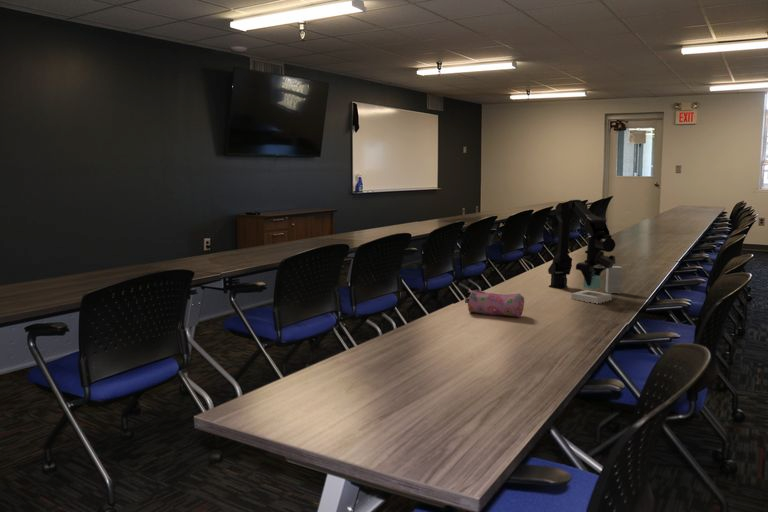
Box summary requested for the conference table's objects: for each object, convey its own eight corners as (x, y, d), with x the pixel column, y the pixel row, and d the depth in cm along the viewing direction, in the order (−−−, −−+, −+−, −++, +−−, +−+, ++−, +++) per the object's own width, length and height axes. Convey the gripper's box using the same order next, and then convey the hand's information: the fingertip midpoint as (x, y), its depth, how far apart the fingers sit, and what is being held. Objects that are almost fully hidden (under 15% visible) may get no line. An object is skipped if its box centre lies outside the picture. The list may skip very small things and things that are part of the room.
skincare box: (618, 292, 276) (620, 266, 275) (621, 294, 272) (622, 267, 270) (604, 291, 277) (606, 265, 275) (607, 293, 273) (608, 267, 271)
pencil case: (464, 314, 232) (464, 291, 231) (471, 309, 241) (471, 287, 239) (520, 320, 224) (521, 296, 222) (525, 315, 232) (526, 292, 230)
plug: (583, 287, 259) (584, 273, 258) (589, 285, 263) (590, 272, 262) (594, 289, 256) (595, 275, 255) (600, 287, 259) (601, 273, 258)
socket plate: (571, 299, 260) (571, 293, 260) (585, 295, 268) (585, 289, 268) (597, 304, 251) (597, 298, 251) (611, 300, 259) (611, 294, 259)
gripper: (601, 252, 244) (598, 290, 247) (623, 248, 257) (620, 285, 259) (576, 249, 253) (574, 286, 255) (598, 246, 265) (596, 281, 267)
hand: (592, 284), depth 259 cm, fingers closed on plug, 5 cm apart
